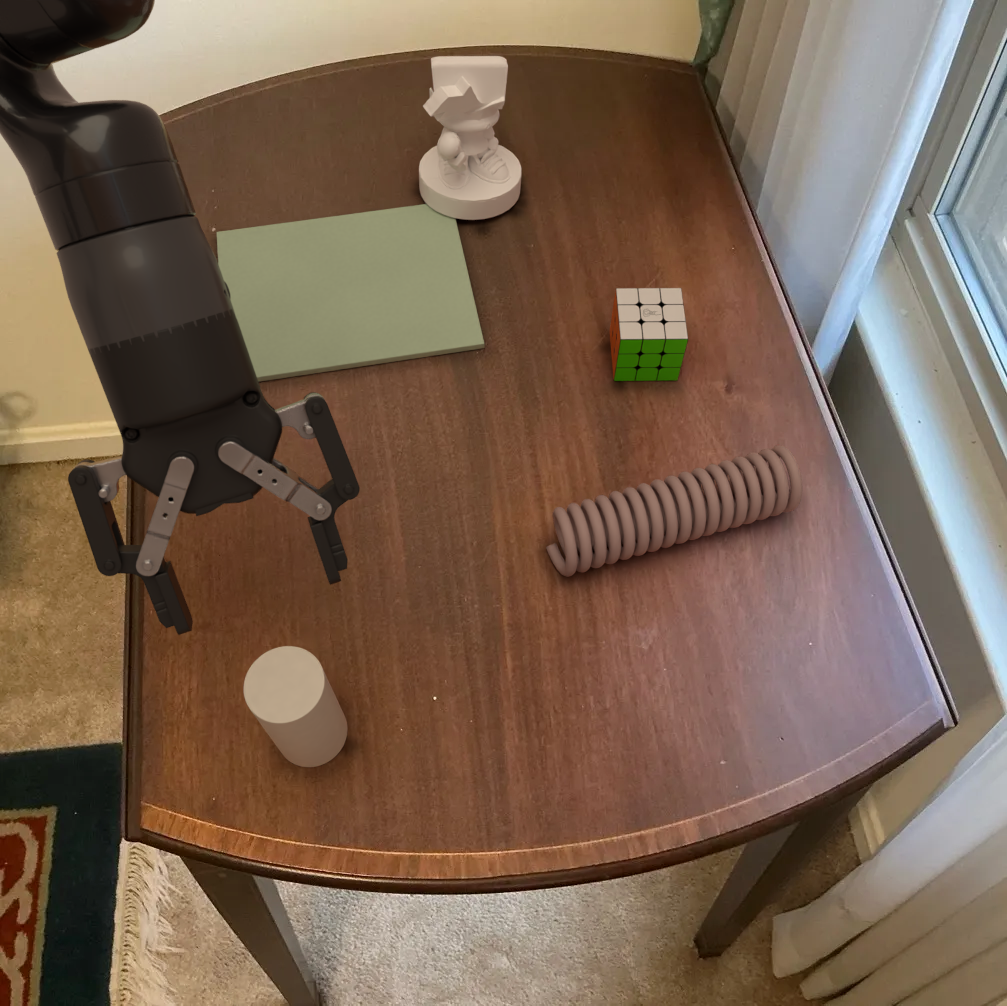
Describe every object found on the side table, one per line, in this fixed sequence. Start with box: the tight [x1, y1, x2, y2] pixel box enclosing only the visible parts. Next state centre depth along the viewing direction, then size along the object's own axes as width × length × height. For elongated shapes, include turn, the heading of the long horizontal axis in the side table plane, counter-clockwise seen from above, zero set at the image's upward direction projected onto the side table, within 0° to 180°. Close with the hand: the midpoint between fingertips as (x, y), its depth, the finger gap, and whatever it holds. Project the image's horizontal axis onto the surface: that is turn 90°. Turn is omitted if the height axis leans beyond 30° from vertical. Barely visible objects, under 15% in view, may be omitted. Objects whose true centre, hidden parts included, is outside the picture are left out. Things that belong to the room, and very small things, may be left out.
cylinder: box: [243, 645, 348, 768], centre depth 56 cm, size 4×4×9 cm
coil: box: [545, 444, 803, 577], centre depth 65 cm, size 5×5×18 cm
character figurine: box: [418, 55, 522, 221], centre depth 79 cm, size 9×10×12 cm
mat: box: [216, 203, 485, 383], centre depth 78 cm, size 20×16×1 cm
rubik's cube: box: [608, 287, 689, 382], centre depth 73 cm, size 5×5×5 cm
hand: (261, 603), depth 54 cm, fingers open, 8 cm apart
